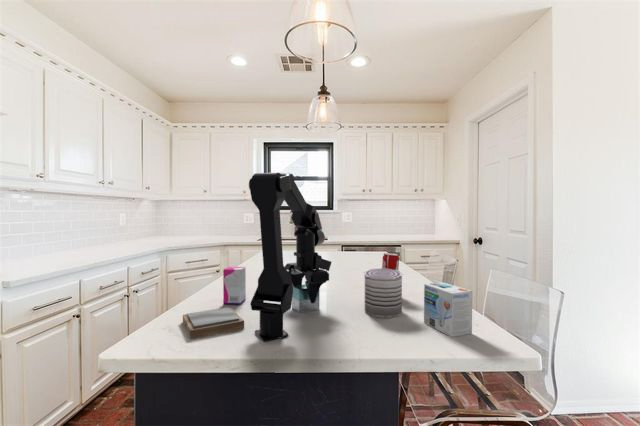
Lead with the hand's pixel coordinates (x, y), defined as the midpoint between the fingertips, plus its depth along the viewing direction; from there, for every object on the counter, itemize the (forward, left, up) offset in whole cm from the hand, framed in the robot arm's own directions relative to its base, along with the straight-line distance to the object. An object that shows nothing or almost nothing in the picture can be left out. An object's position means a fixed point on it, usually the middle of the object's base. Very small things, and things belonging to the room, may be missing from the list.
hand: (305, 299), depth 99 cm
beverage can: (-2, -33, -3) cm, 33 cm away
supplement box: (+18, +17, -3) cm, 25 cm away
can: (-14, -19, -3) cm, 24 cm away
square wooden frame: (0, +28, -3) cm, 28 cm away
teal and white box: (0, 0, -3) cm, 3 cm away
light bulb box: (-33, -24, -3) cm, 41 cm away
